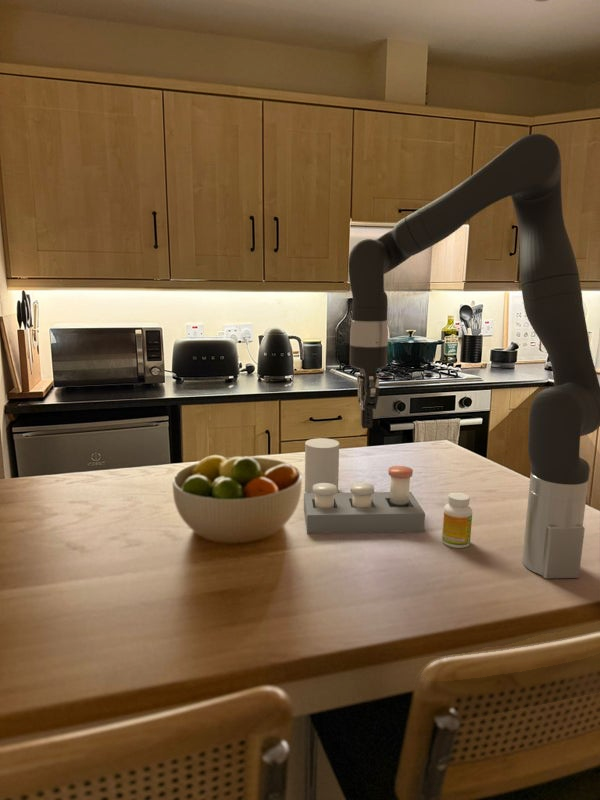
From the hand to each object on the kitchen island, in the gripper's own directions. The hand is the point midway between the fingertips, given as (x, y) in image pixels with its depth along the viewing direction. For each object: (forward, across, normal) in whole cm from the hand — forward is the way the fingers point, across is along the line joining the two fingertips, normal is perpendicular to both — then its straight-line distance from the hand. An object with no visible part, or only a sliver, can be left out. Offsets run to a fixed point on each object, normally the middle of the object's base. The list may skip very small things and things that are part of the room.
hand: (366, 427), depth 118 cm
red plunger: (+16, 0, -8) cm, 18 cm away
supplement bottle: (+21, -11, -16) cm, 29 cm away
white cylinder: (+21, +18, +7) cm, 29 cm away
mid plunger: (+20, 0, 0) cm, 20 cm away
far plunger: (+20, 0, +8) cm, 22 cm away
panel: (+21, 0, 0) cm, 21 cm away
